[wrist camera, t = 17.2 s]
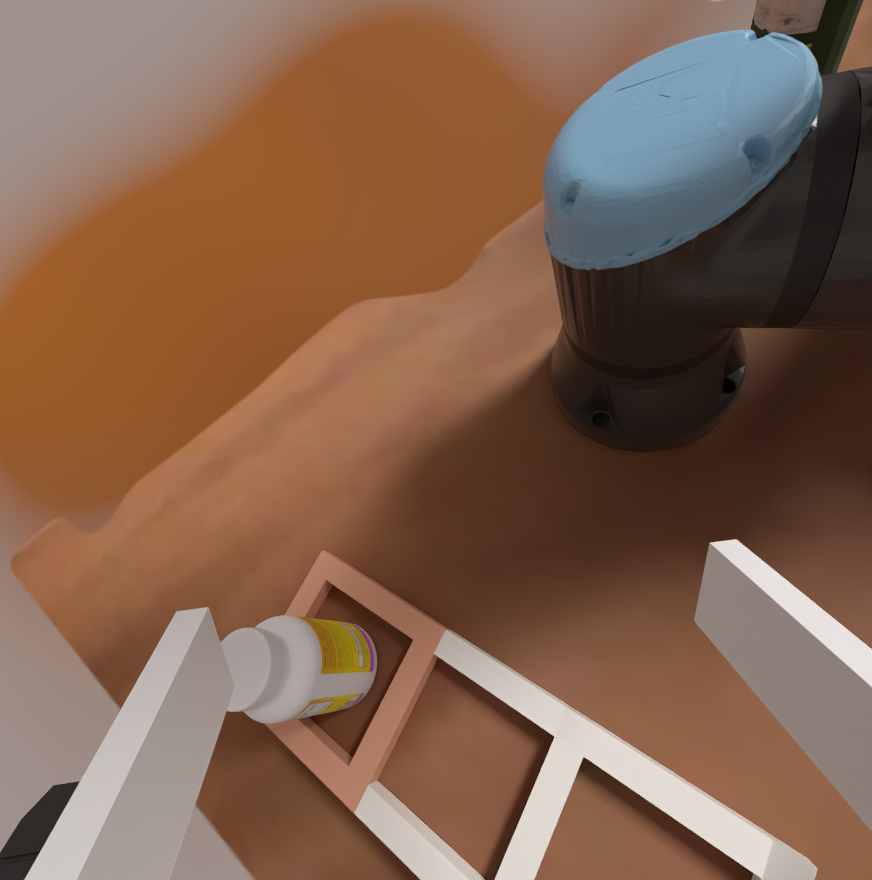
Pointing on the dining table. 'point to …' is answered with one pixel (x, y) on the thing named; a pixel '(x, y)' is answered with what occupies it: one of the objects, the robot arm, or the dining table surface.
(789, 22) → the wine bottle
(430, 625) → the rack
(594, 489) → the dining table surface
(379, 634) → the dining table surface
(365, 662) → the supplement bottle
